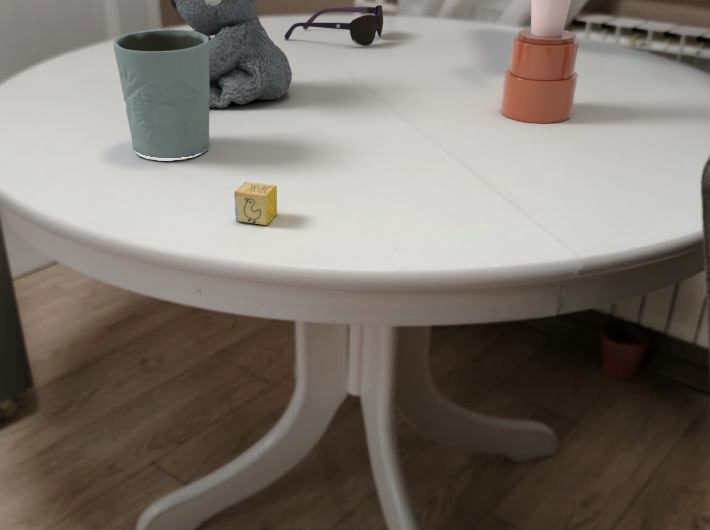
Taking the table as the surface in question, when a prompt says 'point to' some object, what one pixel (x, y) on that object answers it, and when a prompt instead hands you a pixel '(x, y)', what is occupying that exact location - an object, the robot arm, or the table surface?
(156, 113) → the green embossed cup
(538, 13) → the smoothie
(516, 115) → the upturned cup
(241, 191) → the alphabet block
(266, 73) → the koala plush
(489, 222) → the table surface
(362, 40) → the sunglasses
